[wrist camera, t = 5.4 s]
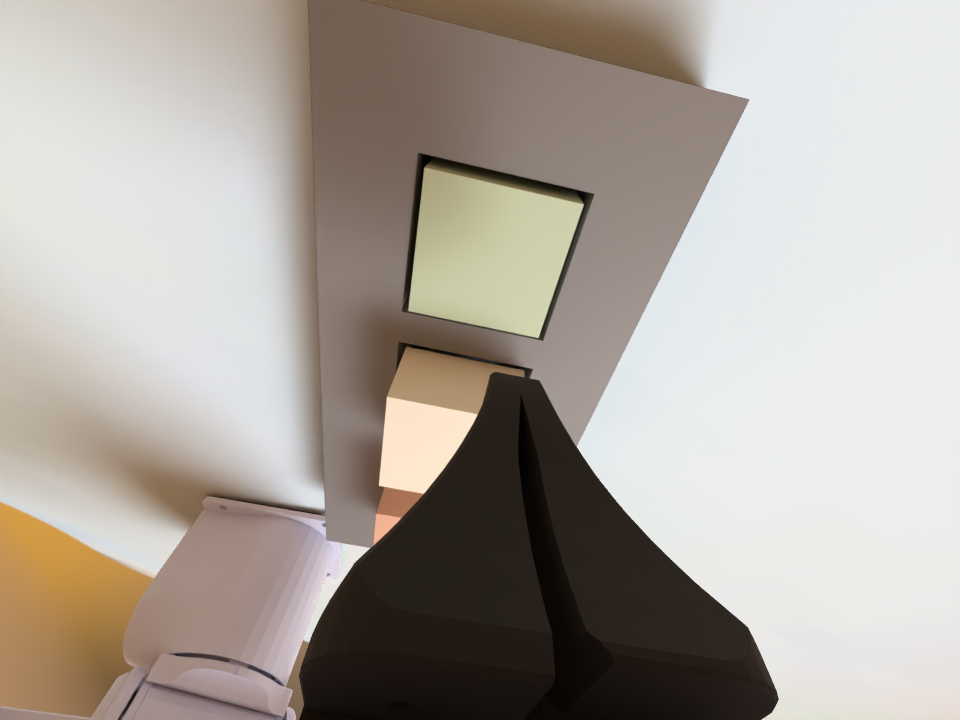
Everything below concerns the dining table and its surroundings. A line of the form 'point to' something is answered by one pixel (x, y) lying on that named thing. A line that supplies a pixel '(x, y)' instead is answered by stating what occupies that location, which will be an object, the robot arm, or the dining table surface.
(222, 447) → the dining table surface
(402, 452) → the cream key
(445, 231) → the green key
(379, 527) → the terracotta key
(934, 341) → the dining table surface
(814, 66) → the dining table surface
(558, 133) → the board
